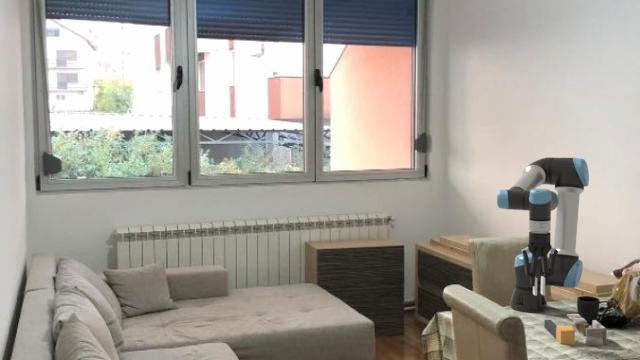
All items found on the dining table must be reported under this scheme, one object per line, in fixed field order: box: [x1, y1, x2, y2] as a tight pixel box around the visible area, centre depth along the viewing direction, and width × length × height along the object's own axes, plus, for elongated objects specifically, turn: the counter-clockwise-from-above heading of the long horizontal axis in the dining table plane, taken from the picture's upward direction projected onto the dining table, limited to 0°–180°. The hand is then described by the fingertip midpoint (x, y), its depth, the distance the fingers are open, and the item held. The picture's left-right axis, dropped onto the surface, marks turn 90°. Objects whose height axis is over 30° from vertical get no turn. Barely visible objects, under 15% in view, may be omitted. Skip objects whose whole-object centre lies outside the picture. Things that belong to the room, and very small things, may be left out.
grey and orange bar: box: [543, 319, 576, 345], centre depth 261 cm, size 19×5×5 cm, turn 179°
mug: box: [576, 295, 611, 325], centre depth 275 cm, size 8×12×10 cm
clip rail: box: [566, 313, 608, 346], centre depth 260 cm, size 22×7×6 cm, turn 179°
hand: (538, 294), depth 257 cm, fingers open, 2 cm apart
